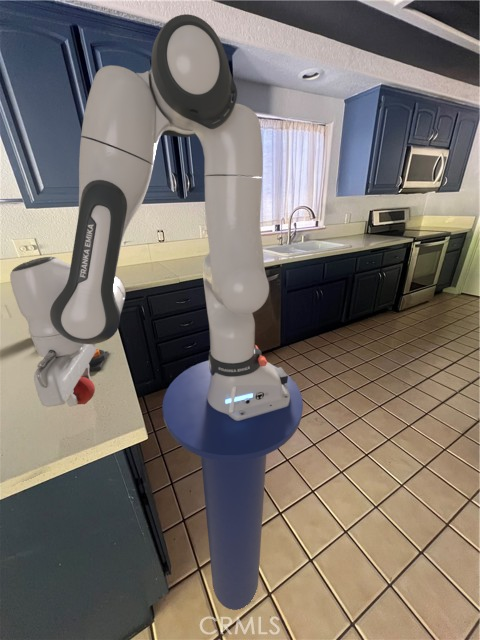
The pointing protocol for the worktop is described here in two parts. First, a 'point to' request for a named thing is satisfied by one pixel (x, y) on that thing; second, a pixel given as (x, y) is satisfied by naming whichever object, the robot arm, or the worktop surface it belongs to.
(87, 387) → the onion
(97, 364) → the scale
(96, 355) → the tare button
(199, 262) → the worktop surface
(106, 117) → the robot arm
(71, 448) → the worktop surface
